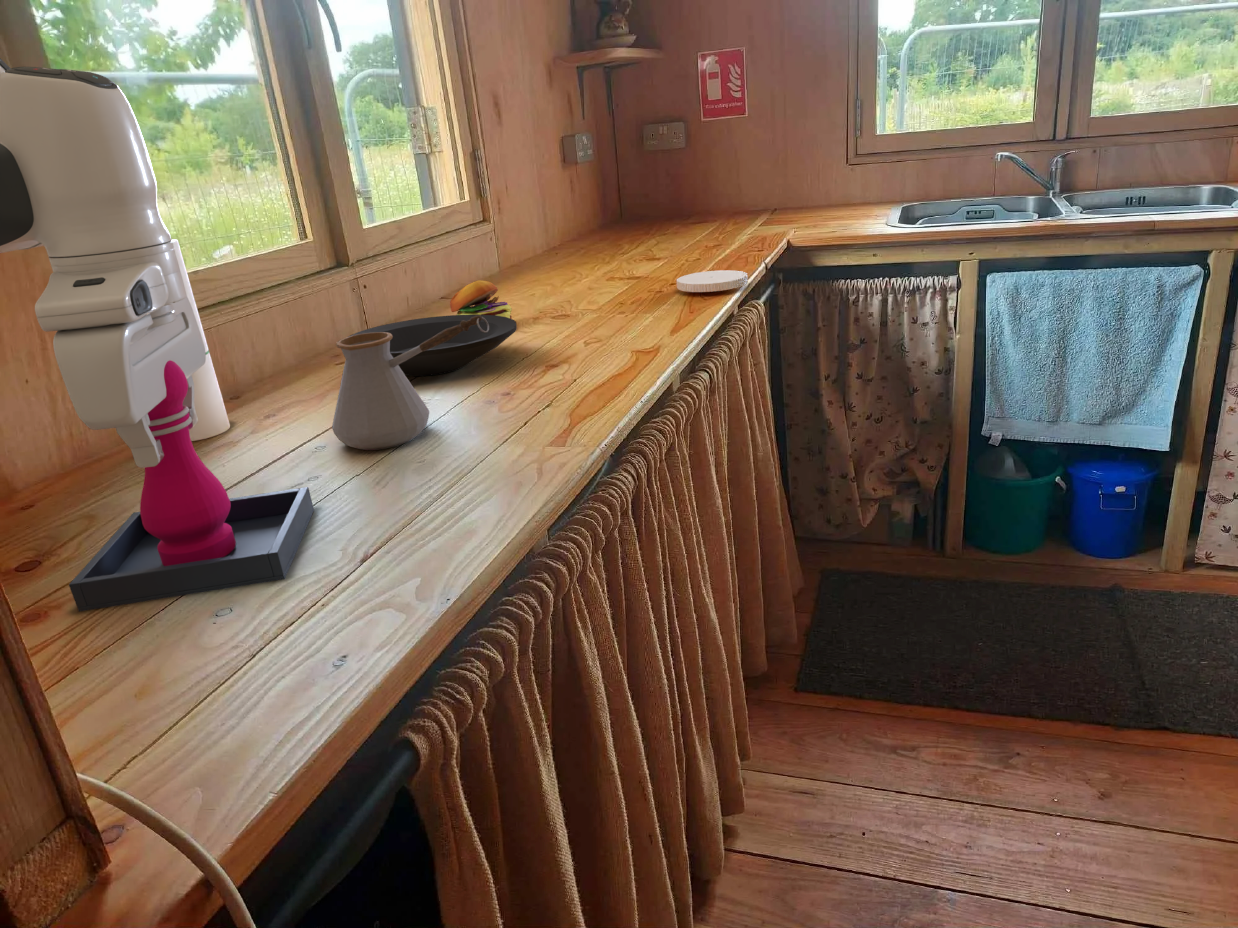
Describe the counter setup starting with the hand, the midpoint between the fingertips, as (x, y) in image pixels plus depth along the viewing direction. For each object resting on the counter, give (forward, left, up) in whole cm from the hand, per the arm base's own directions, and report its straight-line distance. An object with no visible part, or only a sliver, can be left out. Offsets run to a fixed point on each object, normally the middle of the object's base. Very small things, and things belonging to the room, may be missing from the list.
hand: (170, 444), depth 76 cm
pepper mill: (0, 0, -11) cm, 11 cm away
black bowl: (+18, +61, -12) cm, 65 cm away
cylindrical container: (-12, +41, -12) cm, 44 cm away
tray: (0, 0, -11) cm, 11 cm away
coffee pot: (+18, +25, -12) cm, 33 cm away
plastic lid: (+72, +94, -12) cm, 119 cm away
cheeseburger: (+26, +84, -12) cm, 89 cm away
